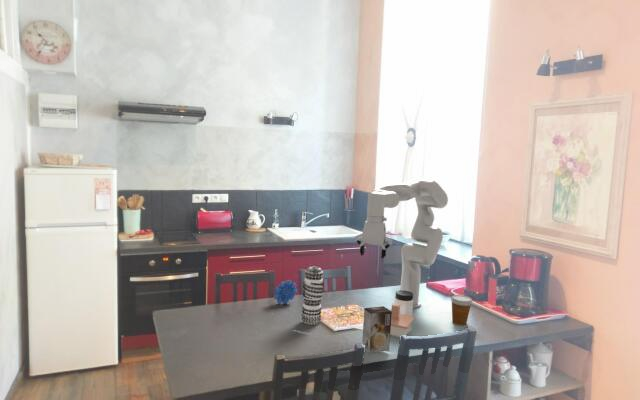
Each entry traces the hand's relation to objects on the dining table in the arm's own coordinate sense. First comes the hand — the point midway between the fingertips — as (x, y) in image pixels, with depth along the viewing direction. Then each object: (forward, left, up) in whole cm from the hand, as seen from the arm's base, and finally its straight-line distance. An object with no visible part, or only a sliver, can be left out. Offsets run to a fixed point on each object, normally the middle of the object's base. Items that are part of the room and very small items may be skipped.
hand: (372, 256), depth 215 cm
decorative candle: (+19, -20, -30) cm, 41 cm away
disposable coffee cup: (-18, +39, -30) cm, 52 cm away
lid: (+9, +15, -24) cm, 30 cm away
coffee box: (+30, +13, -30) cm, 44 cm away
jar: (-10, +14, -30) cm, 34 cm away
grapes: (+3, -42, -30) cm, 52 cm away
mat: (+9, -1, -29) cm, 31 cm away
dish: (+9, +15, -29) cm, 34 cm away
